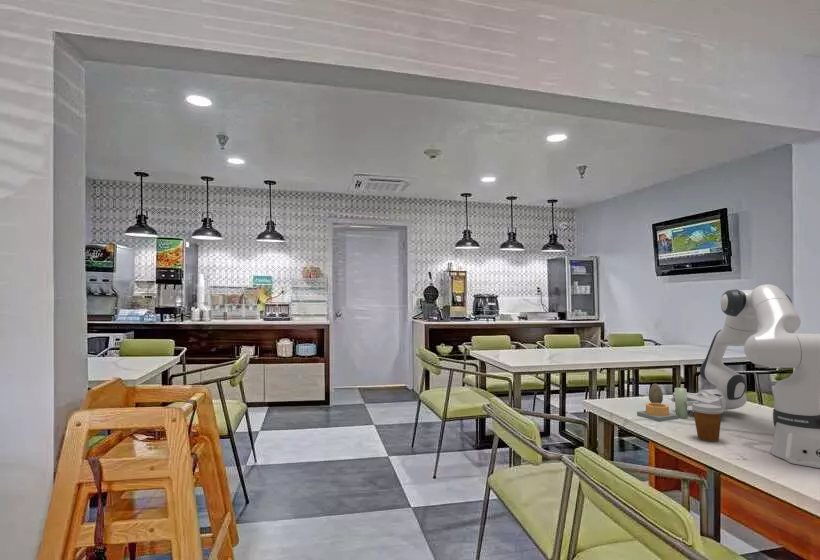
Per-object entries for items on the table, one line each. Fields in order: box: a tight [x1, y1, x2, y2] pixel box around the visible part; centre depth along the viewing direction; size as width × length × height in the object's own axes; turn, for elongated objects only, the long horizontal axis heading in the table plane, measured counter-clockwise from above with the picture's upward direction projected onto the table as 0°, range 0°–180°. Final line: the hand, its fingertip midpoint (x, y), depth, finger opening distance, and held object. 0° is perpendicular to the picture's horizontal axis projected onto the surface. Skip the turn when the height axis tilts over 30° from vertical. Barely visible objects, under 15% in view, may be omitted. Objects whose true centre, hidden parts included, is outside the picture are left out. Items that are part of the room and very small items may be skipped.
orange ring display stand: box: [636, 402, 680, 422], centre depth 190 cm, size 11×11×5 cm
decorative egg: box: [648, 383, 664, 404], centre depth 211 cm, size 6×6×10 cm
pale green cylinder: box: [674, 387, 689, 419], centre depth 190 cm, size 4×4×12 cm
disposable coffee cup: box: [690, 402, 724, 442], centre depth 160 cm, size 10×10×12 cm
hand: (679, 401), depth 189 cm, fingers open, 6 cm apart
